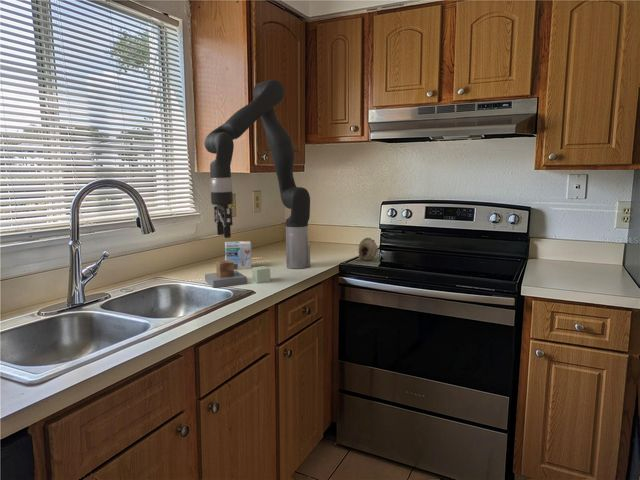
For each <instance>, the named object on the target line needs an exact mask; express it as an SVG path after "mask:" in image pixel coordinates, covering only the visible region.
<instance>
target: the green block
mask: <svg viewBox="0 0 640 480" xmlns="http://www.w3.org/2000/svg"><path fill="white" fill-rule="evenodd" d="M251 269H252V281H253V282H254V283H256V284H262V283H264V282H265V283H270V282H271V268H270V267H268V266H267V265H264V266H262V265H261V266H253V267H252V268H251Z"/></svg>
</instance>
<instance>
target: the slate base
mask: <svg viewBox="0 0 640 480" xmlns="http://www.w3.org/2000/svg"><path fill="white" fill-rule="evenodd" d="M247 279H248V278H247V276H246V275H244V274H243V273H242V272H240V271H238V270H234V276H230V277H221V278H220V277H219V276H218V275H217V272H210V273H204V282H206V283H207V284H208V285H209V286H211V287H212V288H214V289H215V288H216V289H217V288H223V287H230V286H232V287H233V286H238V285H247V283H248V282H247Z"/></svg>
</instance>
